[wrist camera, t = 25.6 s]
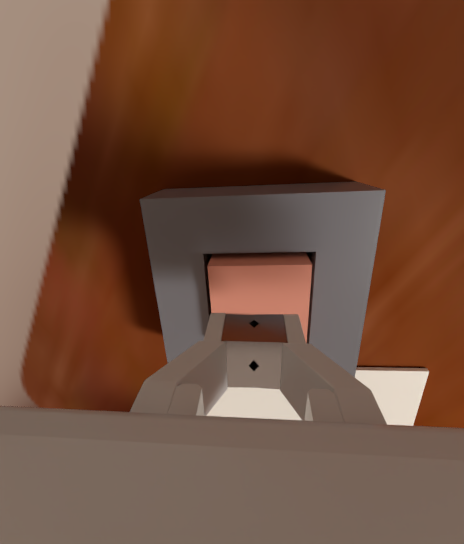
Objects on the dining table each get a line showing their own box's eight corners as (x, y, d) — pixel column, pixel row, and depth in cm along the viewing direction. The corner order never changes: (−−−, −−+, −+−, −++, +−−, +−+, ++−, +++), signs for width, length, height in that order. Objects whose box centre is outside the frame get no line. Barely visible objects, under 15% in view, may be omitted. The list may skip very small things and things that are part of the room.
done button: (216, 244, 15) (207, 266, 12) (301, 243, 14) (312, 264, 12) (221, 316, 16) (214, 349, 14) (297, 316, 16) (305, 350, 13)
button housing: (163, 188, 15) (139, 199, 12) (355, 181, 14) (385, 190, 11) (184, 341, 19) (170, 380, 16) (336, 342, 18) (353, 383, 15)
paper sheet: (188, 364, 20) (186, 368, 19) (426, 368, 18) (429, 372, 18) (209, 524, 28) (209, 529, 27) (377, 534, 26) (379, 539, 26)
